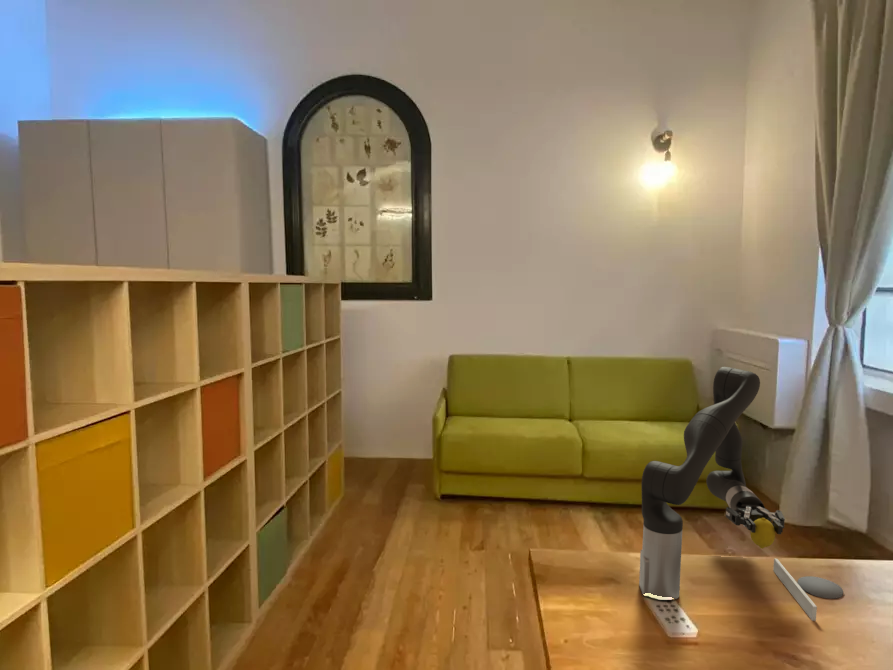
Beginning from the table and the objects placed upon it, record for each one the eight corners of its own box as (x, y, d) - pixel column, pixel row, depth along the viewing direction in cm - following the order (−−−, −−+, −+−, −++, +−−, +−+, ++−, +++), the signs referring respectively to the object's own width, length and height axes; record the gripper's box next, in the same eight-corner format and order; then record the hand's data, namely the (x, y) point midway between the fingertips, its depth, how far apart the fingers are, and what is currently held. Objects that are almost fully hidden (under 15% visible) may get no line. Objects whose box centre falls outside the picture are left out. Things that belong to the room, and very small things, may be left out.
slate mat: (807, 597, 155) (807, 594, 155) (791, 577, 165) (791, 575, 165) (850, 600, 154) (850, 597, 154) (831, 579, 164) (831, 577, 164)
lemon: (777, 554, 153) (779, 523, 152) (752, 552, 154) (754, 521, 153) (770, 544, 159) (772, 514, 158) (746, 542, 160) (748, 512, 159)
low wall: (812, 620, 145) (813, 606, 145) (773, 570, 169) (774, 558, 168) (815, 620, 145) (816, 606, 144) (776, 571, 168) (777, 558, 168)
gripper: (717, 488, 170) (737, 513, 154) (773, 491, 168) (799, 517, 152) (715, 515, 171) (735, 542, 155) (771, 518, 169) (797, 546, 153)
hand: (766, 529), depth 153 cm, fingers closed on lemon, 5 cm apart
